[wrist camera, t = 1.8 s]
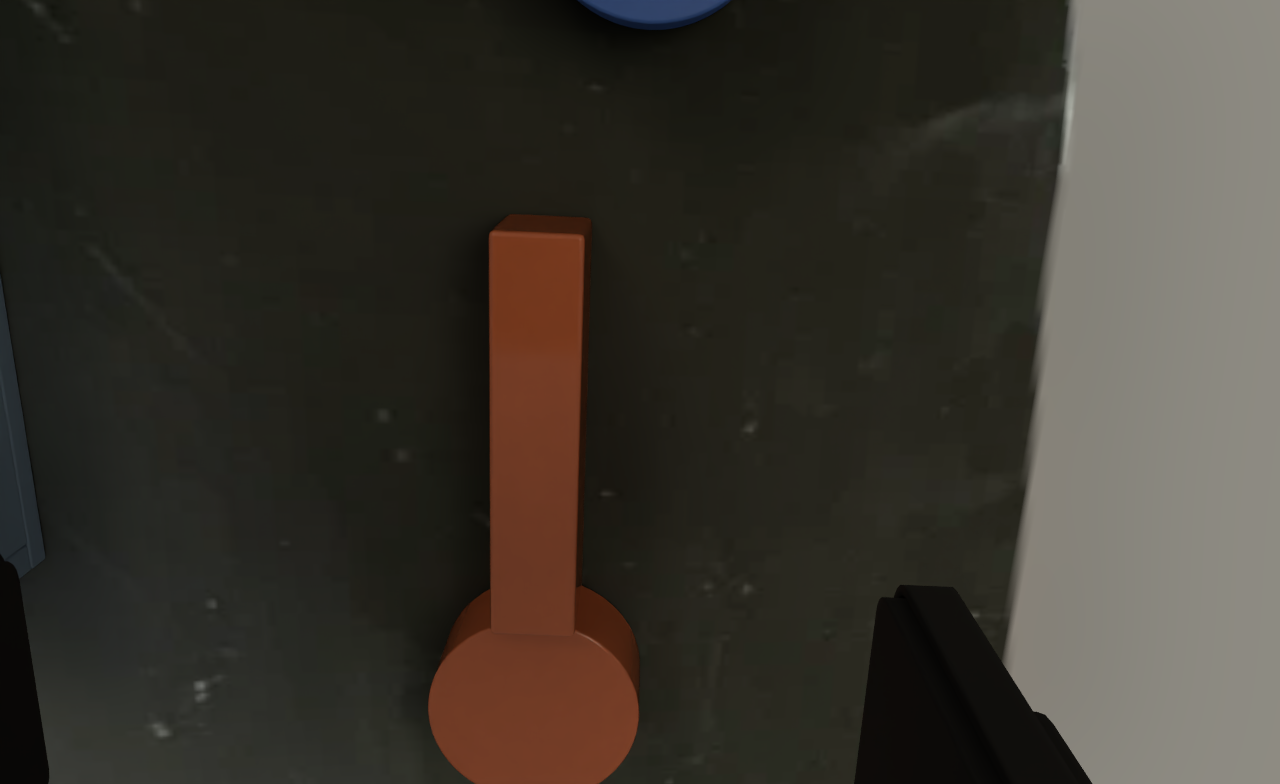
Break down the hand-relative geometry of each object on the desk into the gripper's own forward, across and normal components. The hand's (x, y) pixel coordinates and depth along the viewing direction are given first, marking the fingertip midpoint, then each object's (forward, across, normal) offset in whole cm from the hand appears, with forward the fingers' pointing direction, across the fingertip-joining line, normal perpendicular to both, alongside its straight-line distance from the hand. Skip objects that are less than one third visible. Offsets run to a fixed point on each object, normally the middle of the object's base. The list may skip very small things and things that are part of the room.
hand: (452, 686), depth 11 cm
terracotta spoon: (+9, 0, +2) cm, 9 cm away
